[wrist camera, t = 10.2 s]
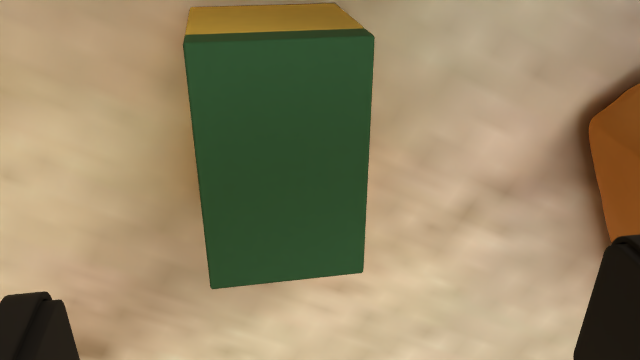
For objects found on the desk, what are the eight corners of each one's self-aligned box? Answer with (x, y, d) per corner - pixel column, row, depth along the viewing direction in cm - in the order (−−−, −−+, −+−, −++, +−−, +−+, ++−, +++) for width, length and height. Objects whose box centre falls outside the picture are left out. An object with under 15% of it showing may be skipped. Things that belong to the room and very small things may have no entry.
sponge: (210, 208, 21) (210, 290, 16) (189, 7, 17) (182, 43, 13) (332, 197, 22) (363, 273, 17) (335, 2, 18) (375, 35, 14)
